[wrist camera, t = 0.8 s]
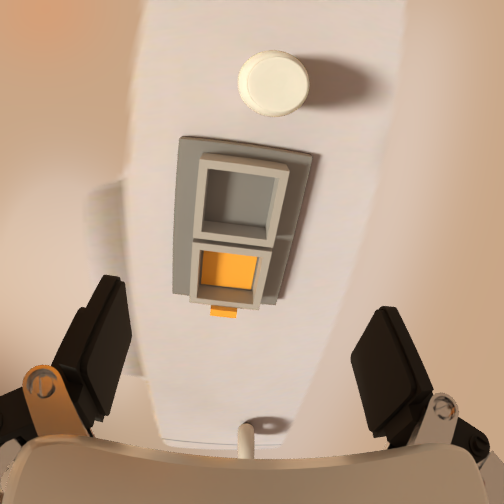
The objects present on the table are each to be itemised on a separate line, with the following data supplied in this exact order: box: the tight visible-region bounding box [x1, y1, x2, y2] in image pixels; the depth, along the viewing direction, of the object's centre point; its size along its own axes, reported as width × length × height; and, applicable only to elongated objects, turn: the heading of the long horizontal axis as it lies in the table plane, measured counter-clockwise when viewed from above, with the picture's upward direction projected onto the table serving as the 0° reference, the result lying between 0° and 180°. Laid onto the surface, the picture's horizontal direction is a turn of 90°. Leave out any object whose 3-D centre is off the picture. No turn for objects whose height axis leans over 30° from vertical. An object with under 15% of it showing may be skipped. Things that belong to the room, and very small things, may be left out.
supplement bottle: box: [238, 50, 310, 117], centre depth 22 cm, size 5×5×10 cm
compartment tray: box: [173, 136, 313, 318], centre depth 32 cm, size 19×13×4 cm
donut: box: [238, 423, 254, 459], centre depth 55 cm, size 10×3×10 cm, turn 179°
